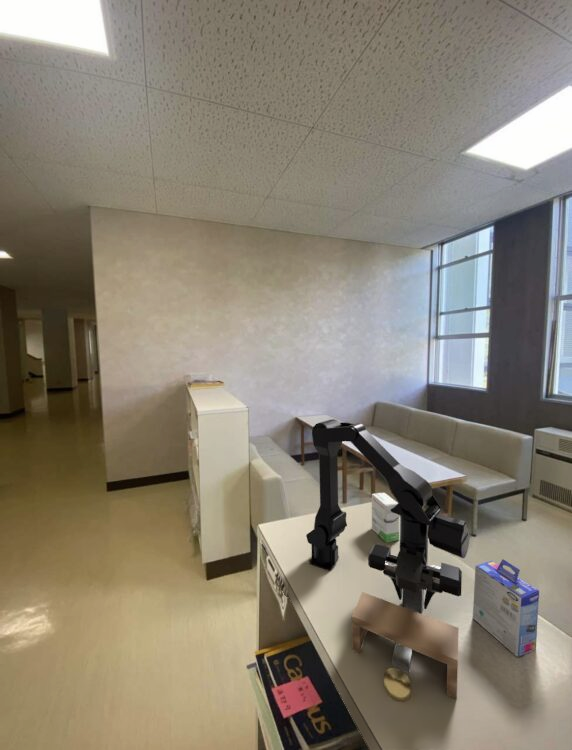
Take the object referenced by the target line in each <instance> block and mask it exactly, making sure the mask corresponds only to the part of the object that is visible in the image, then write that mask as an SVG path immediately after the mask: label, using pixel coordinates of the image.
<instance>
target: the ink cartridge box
mask: <svg viewBox="0 0 572 750" xmlns="http://www.w3.org/2000/svg"><path fill="white" fill-rule="evenodd" d="M504 566H505V567H507V568H509V569H511V570H512V571H513V572H514V573H512V572H510V571H509V570H508V569H506V568H504ZM474 567H475V569H474V589H473V591H474V592H473V605H472V606H473V608H472V609H473V610H472V618H473V620H474V621H476V622H477V623H478V624H479V625H480V626H481V627H482V628H483V629H485V630H486V631H487V632H488V633H489V634H490V635H491V636H493V637H494V638H495V639H496V640H497V641H499V643H500V644H502V645H503V647H505V648H506V649H508V650H509V651H510V652H511V653H512V654H513V655H514V656H515V657H522V656H524V655H527V654H529V653H532V652H535V651H536V650H537V637H538V636H537V635H538V617H539V616H538V615H539V602H540V601H539V598H540V590H539V589H538V588H537V587H534V586H533V585H531V584H529V583H528V582H526V581H525V580H523V579H521V578H520V577H519V575H520V571H521V569H519V568H518V567H516V566H515V565H513V564H512V563H510V562H508V561H507V560H506V559H504V558H502V559H501V560H500V563H499V564H497V562H495V561H493V560H489V561H487V562H483V563H480V564H477V565H475V566H474Z"/></svg>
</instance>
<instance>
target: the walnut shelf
mask: <svg viewBox="0 0 572 750" xmlns="http://www.w3.org/2000/svg"><path fill="white" fill-rule="evenodd" d="M358 599H359V600H358V601H357V603H356V606H355V608H354V611H353V613H352V615H351V650H352V651H354V652H355V653H358V654H360V653H361V651H362V648H363V644H364V641H365V639H366V636H367V634H368V631H369V632H371V633H374V634H376V635H377V636H381V637H383V638H385V639H387V640H389V641H393V642H394V643H395V644H396V643H399V644H401V645H403V646H406V647H408V648H410V649H412V650H413V651H415V652H418V653H420V654H422V655H424V656H426V657H429V658H431V659H433V660H436V661H438V662H440V663H443V664H446V666H447V667H446V669H447V670H446V671H447V672H446V695H447V696H448V697H451V698H453V699H454V700H457V699H458V698H457V697H458V696H457V695H458V672H459V671H458V668H459V667H458V665H459V630H460V629H459V627H457V626H455V625H452V624H449V623H447V622H444V621H441V620H440V619H436V618H433V617H430V616H427V615H425V614H423V613H422V614H420V613H418V612H415V611H412V610H410V609H407V608H404V607H402V605H398V604H396V603H393V602H390V601H388V600H386V599H382V598H380V597H377V596H374V595H372V594H370V593H367V592H363V591H362V592H361V594H360V597H359V598H358Z"/></svg>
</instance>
